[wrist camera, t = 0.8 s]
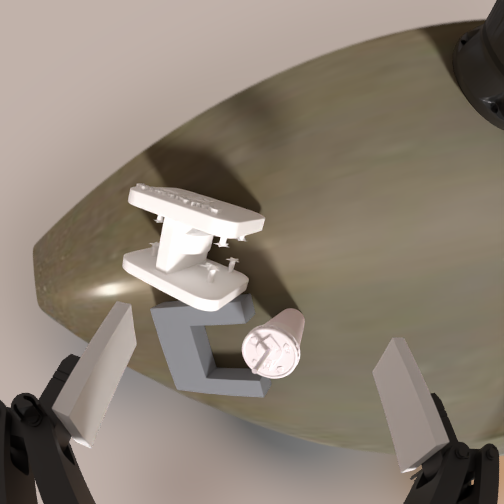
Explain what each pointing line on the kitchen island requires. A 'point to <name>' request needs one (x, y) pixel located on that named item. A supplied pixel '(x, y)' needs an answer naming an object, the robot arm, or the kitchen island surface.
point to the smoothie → (275, 345)
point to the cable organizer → (191, 246)
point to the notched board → (204, 348)
